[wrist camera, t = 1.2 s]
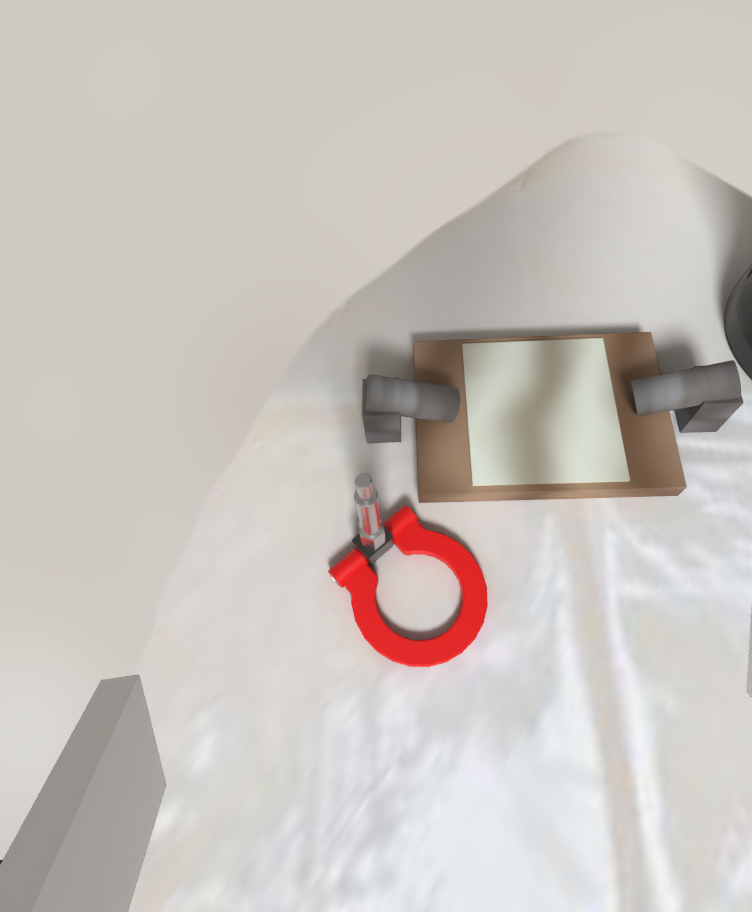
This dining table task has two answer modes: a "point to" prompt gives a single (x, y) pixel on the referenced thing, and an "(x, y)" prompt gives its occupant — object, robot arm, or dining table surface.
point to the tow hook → (410, 541)
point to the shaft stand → (548, 416)
